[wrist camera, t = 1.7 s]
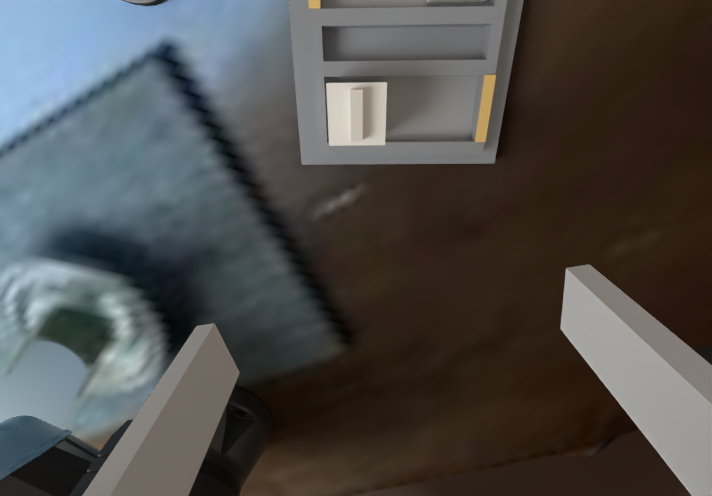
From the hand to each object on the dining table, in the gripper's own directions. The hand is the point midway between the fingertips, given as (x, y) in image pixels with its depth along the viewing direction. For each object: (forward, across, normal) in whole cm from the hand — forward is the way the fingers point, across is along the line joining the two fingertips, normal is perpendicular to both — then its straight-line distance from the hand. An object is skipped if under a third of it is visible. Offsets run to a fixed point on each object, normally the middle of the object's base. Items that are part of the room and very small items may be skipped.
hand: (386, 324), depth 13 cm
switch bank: (+21, +4, +10) cm, 23 cm away
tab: (+19, 0, +6) cm, 20 cm away
